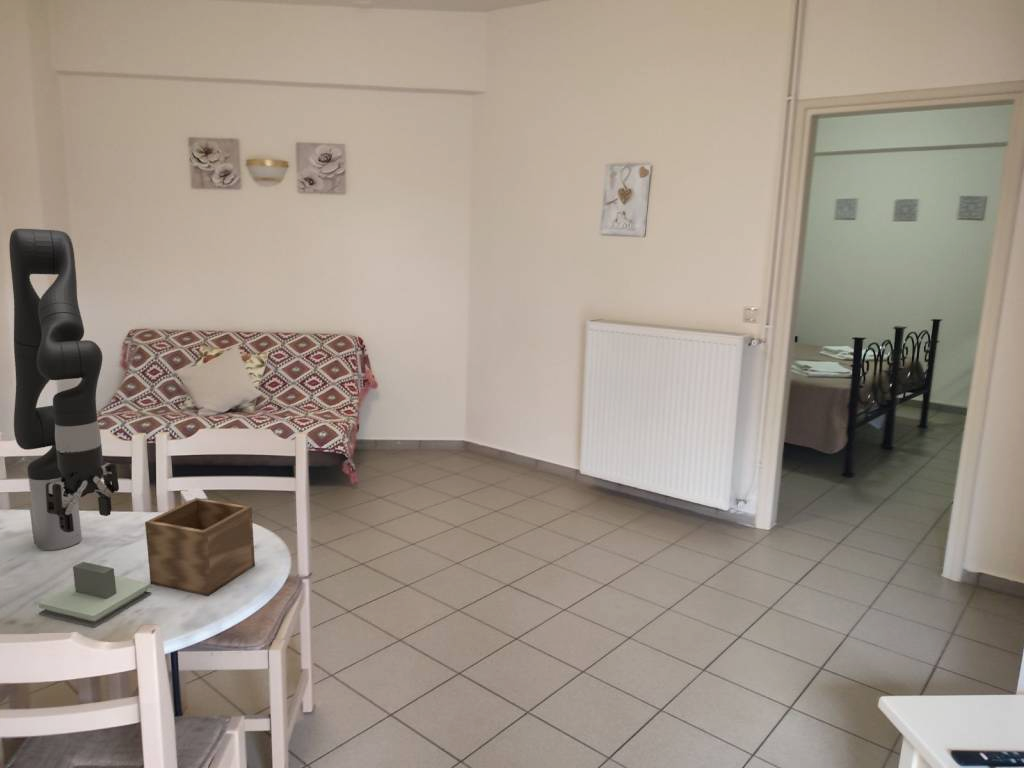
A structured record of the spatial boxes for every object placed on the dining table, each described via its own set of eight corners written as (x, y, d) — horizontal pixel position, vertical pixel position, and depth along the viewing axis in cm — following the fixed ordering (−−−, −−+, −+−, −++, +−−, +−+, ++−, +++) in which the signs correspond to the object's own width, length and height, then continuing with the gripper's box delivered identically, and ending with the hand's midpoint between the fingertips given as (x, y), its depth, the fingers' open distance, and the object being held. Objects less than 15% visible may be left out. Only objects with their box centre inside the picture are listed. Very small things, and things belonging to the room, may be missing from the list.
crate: (150, 583, 159) (145, 522, 156) (200, 554, 173) (196, 497, 170) (208, 595, 154) (203, 532, 151) (254, 565, 168) (251, 506, 165)
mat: (39, 614, 146) (38, 612, 146) (98, 582, 159) (98, 580, 159) (94, 627, 142) (94, 625, 141) (151, 594, 154) (150, 592, 154)
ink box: (212, 544, 179) (209, 497, 176) (190, 548, 176) (186, 501, 173) (205, 531, 186) (201, 486, 183) (183, 535, 183) (179, 490, 180)
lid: (39, 612, 146) (34, 576, 144) (99, 580, 159) (95, 548, 157) (94, 625, 142) (90, 589, 140) (151, 592, 154) (148, 558, 153)
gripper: (95, 432, 151) (102, 507, 154) (30, 452, 137) (39, 534, 141) (124, 436, 148) (130, 513, 152) (60, 457, 135) (69, 540, 139)
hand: (87, 523), depth 146 cm, fingers open, 8 cm apart
